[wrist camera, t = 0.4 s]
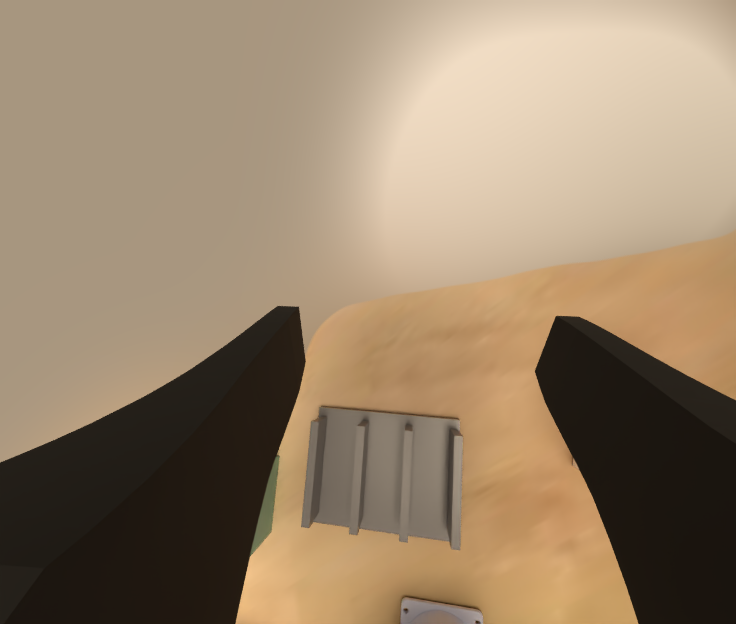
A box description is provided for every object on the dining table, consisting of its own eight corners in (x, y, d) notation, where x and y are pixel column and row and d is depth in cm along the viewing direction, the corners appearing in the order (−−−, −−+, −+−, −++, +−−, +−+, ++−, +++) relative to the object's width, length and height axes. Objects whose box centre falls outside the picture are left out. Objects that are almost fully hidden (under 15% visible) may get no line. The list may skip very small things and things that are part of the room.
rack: (455, 538, 34) (462, 562, 30) (311, 518, 36) (298, 537, 32) (458, 419, 36) (465, 425, 32) (321, 406, 38) (310, 411, 34)
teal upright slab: (271, 531, 37) (226, 583, 28) (250, 528, 37) (199, 578, 28) (279, 456, 38) (239, 483, 29) (259, 453, 38) (213, 479, 29)
